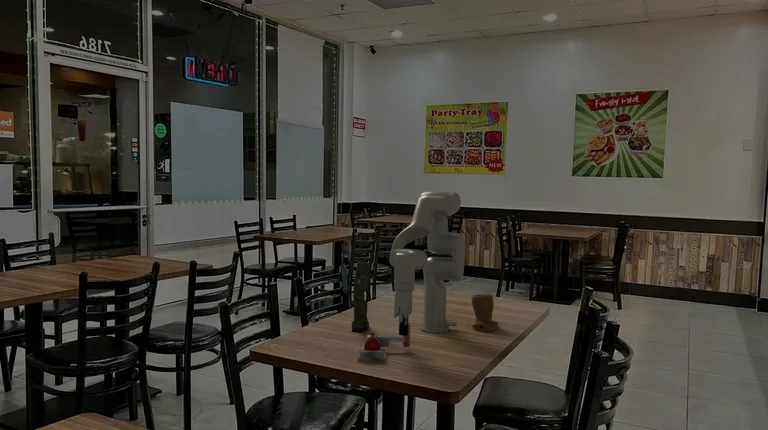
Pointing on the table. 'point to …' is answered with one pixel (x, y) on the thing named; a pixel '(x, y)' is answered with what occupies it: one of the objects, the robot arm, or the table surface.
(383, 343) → the lever
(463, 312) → the table surface
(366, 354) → the base
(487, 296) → the brown boot
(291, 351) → the table surface
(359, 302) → the mechanical leg
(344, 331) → the table surface
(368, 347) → the onion
